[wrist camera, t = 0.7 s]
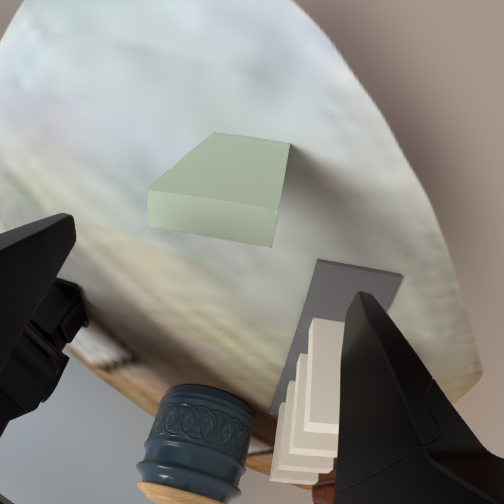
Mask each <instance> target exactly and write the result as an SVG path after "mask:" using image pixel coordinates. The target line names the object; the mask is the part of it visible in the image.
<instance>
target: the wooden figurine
mask: <svg viewBox="0 0 504 504" xmlns="http://www.w3.org/2000/svg"><path fill="white" fill-rule="evenodd" d="M336 465H337V458H336V457H334V459H333V470H331V471H330V472H329V473H319V474H318V482H317V483H316V484H314V485H312V497H313V502H314V504H333V497H334V495H335V494H334V488H335V477H336Z"/></svg>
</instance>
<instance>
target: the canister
mask: <svg viewBox="0 0 504 504" xmlns="http://www.w3.org/2000/svg"><path fill="white" fill-rule="evenodd" d="M253 417H254V416H253V412H252V410H251V409H250V408H249V406H248V405H246V404H245V403H244V402H243V401H241V400H240V399H238V398H236V397H235V396H233V395H230V394H228V393H226V392H223V391H220V390H217V389H214V388H210V387H205V386H199V385H178V386H174V387H172V388H170V389H168V390H167V391H166V393H165V395H164V396H163V397H162V398H161V400H160V403H159V406H158V412H157V415H156V418H155V420H154V423H153V426H152V428H151V431H150V434H149V436H148V439H147V441H145V444H144V447H145V449H146V452H145V456H144V459H143V461H141V462H139V463H138V464H137V465H136V468H137V470H138V471H139V472H140V474H141V475H142V477H143V482H139V483H138V484H137V485H138V487H139V488H140V489H141V490H142V491H143V492H144V493H145V495H146V497H147V498H148V499H149V500H151V501H153V502H155V503H157V504H228V503H229V502H230V501H231V500H233V499H236V498H238V497H240V496H241V491H240V489H239V488H238V484H239V481H240V477H241V476H242V475H244V473H245V472H246V468H245V464H246V459H247V454H248V448H249V443H250V438H251V435H252V433H253V428H254V421H253Z"/></svg>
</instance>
